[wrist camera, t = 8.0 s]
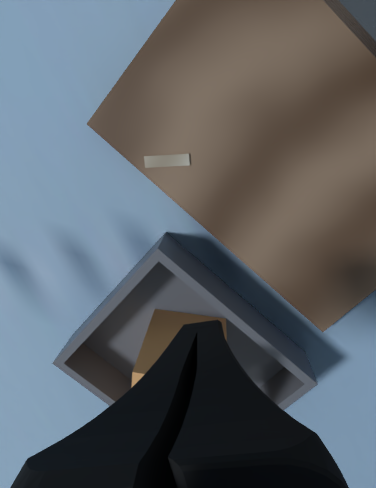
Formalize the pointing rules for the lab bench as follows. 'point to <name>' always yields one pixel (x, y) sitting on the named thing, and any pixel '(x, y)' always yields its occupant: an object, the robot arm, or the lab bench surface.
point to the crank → (358, 19)
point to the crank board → (261, 140)
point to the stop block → (164, 337)
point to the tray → (185, 301)
